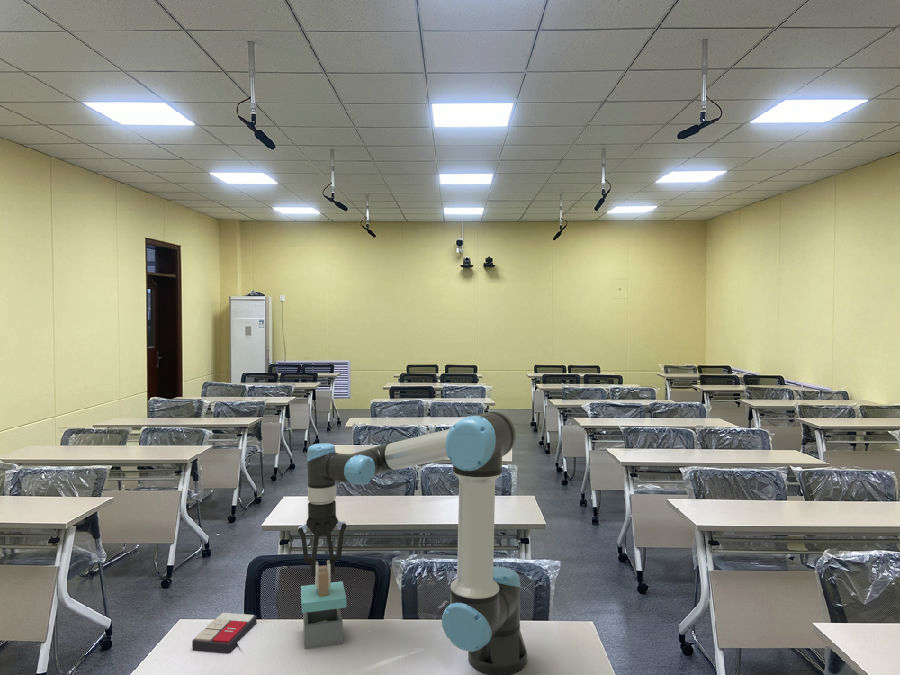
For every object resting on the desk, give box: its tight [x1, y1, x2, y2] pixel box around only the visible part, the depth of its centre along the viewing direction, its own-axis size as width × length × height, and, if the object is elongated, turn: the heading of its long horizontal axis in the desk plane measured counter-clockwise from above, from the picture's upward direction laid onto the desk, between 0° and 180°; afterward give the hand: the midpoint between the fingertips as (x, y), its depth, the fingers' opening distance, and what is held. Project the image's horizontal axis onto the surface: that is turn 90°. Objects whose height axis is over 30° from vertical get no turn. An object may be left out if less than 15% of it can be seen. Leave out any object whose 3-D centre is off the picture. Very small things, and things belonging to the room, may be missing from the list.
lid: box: [300, 565, 347, 614], centre depth 165 cm, size 12×12×8 cm
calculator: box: [191, 612, 257, 654], centre depth 167 cm, size 11×4×15 cm
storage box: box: [302, 608, 344, 650], centre depth 165 cm, size 10×10×7 cm
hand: (323, 586), depth 165 cm, fingers closed on lid, 2 cm apart
